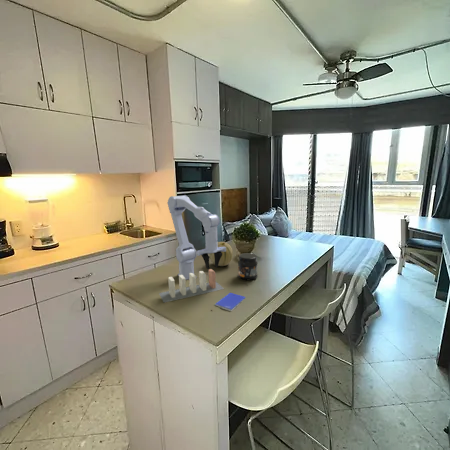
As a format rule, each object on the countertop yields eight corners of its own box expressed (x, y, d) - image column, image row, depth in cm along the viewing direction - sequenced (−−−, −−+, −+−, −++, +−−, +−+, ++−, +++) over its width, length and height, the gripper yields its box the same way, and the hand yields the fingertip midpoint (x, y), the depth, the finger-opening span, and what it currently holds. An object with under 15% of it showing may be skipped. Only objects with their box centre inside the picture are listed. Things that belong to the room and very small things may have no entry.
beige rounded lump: (217, 259, 163) (217, 237, 161) (237, 263, 156) (237, 240, 153) (204, 267, 151) (203, 242, 148) (225, 271, 144) (224, 246, 141)
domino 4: (199, 286, 123) (199, 271, 121) (202, 286, 124) (202, 270, 122) (203, 291, 118) (202, 275, 117) (206, 290, 119) (206, 274, 118)
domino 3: (189, 289, 121) (189, 273, 119) (192, 288, 121) (192, 272, 120) (193, 293, 116) (192, 277, 115) (196, 292, 117) (195, 276, 115)
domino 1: (169, 293, 116) (168, 277, 115) (172, 292, 117) (171, 276, 116) (171, 297, 112) (170, 281, 110) (175, 297, 113) (174, 280, 111)
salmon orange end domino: (208, 284, 125) (208, 269, 124) (211, 284, 126) (211, 268, 125) (212, 288, 121) (212, 272, 119) (215, 287, 122) (215, 272, 120)
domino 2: (179, 291, 119) (178, 275, 117) (182, 290, 119) (182, 274, 118) (182, 295, 114) (182, 279, 113) (186, 294, 115) (185, 278, 113)
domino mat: (158, 293, 117) (158, 293, 117) (215, 281, 129) (215, 281, 129) (163, 303, 108) (163, 302, 108) (224, 289, 121) (224, 288, 121)
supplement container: (234, 274, 138) (234, 254, 136) (252, 272, 142) (252, 251, 140) (242, 282, 129) (242, 259, 126) (261, 279, 132) (261, 257, 130)
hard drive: (231, 309, 101) (245, 296, 111) (214, 303, 105) (229, 292, 116) (231, 312, 101) (245, 300, 112) (214, 307, 106) (229, 295, 116)
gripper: (200, 244, 112) (200, 272, 115) (228, 240, 118) (229, 267, 121) (194, 240, 118) (195, 267, 121) (222, 237, 125) (222, 263, 127)
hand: (212, 267), depth 121 cm, fingers open, 4 cm apart
